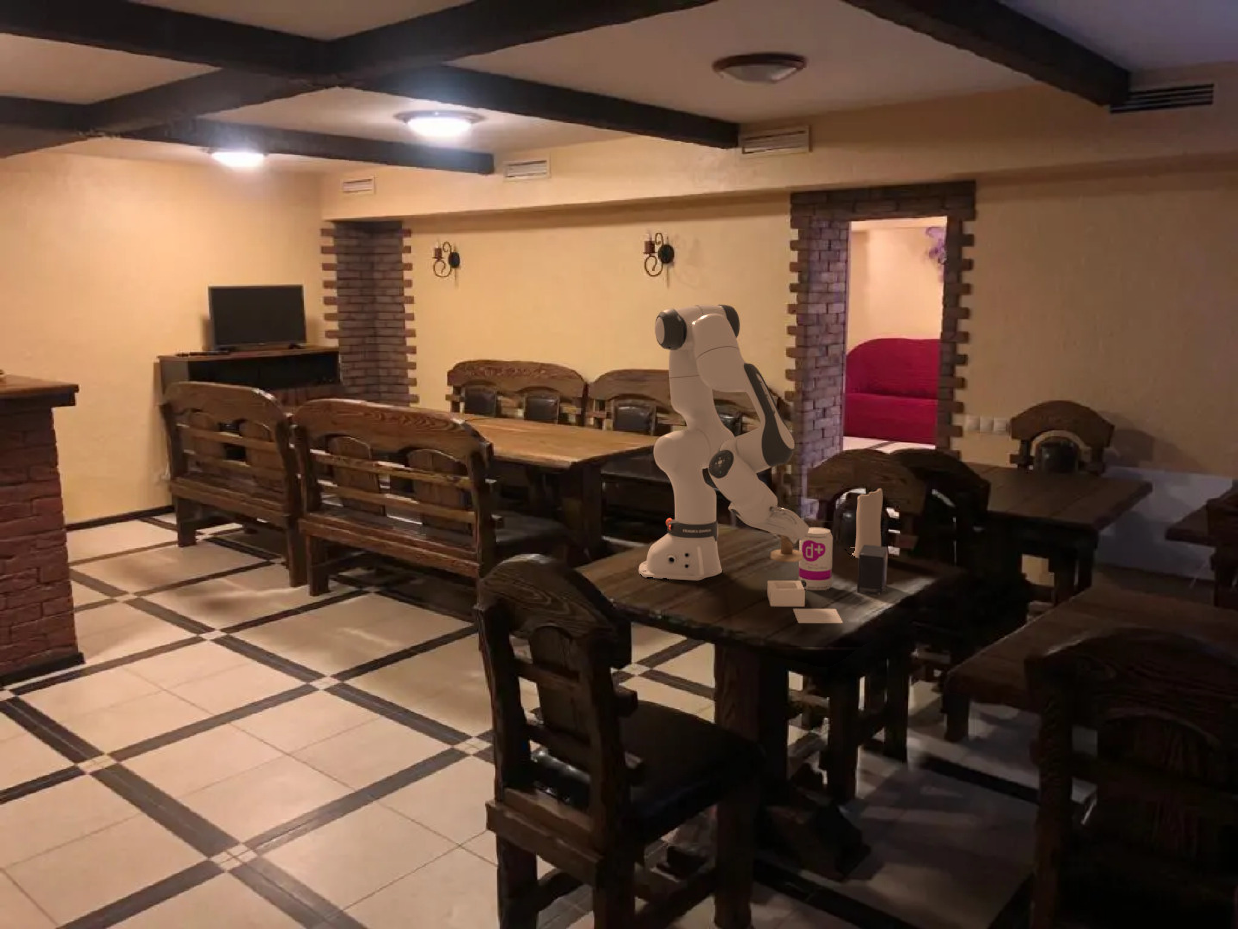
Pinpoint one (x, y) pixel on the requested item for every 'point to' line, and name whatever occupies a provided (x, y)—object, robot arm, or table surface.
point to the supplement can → (816, 559)
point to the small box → (872, 569)
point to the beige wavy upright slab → (868, 520)
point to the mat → (817, 616)
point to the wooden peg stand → (786, 552)
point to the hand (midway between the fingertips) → (788, 539)
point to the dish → (786, 593)
